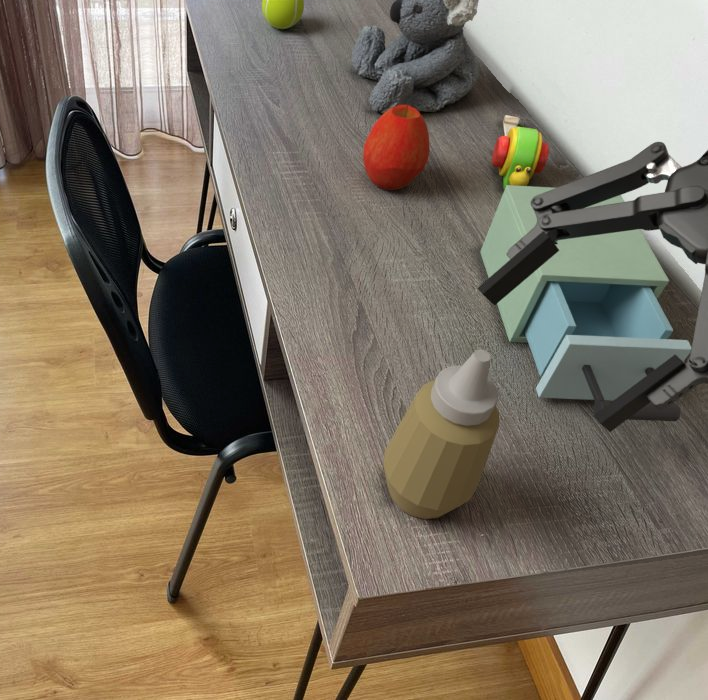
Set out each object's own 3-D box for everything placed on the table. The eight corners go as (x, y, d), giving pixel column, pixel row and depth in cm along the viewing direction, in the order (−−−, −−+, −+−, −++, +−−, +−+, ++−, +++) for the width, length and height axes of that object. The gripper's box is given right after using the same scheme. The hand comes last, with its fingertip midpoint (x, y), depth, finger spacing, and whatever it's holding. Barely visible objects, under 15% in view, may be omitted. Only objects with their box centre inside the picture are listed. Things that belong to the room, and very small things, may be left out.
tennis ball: (257, 32, 122) (260, -11, 117) (263, 15, 127) (267, -28, 122) (298, 38, 122) (303, -5, 117) (303, 21, 127) (308, -22, 121)
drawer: (675, 451, 68) (721, 400, 62) (555, 447, 68) (589, 394, 62) (607, 305, 81) (639, 251, 75) (505, 301, 81) (530, 246, 75)
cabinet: (625, 347, 78) (669, 280, 71) (509, 342, 78) (542, 274, 71) (583, 257, 88) (618, 190, 81) (479, 252, 87) (506, 184, 80)
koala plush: (344, 63, 117) (367, -71, 103) (450, 61, 120) (487, -70, 105) (374, 121, 106) (404, -20, 91) (490, 117, 109) (538, -21, 94)
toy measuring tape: (487, 196, 95) (504, 152, 90) (488, 119, 108) (502, 77, 103) (537, 205, 95) (557, 161, 90) (532, 127, 107) (548, 85, 103)
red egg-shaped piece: (431, 195, 95) (454, 120, 87) (373, 203, 93) (391, 128, 85) (403, 159, 100) (422, 85, 92) (347, 167, 98) (362, 92, 90)
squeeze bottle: (371, 449, 67) (417, 310, 54) (458, 455, 68) (526, 318, 54) (378, 528, 62) (432, 396, 49) (473, 535, 62) (553, 405, 49)
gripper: (976, 288, 44) (671, 497, 51) (668, 88, 59) (463, 269, 66) (995, 239, 39) (650, 480, 45) (650, 31, 54) (428, 236, 60)
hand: (539, 356), depth 56 cm, fingers open, 13 cm apart
